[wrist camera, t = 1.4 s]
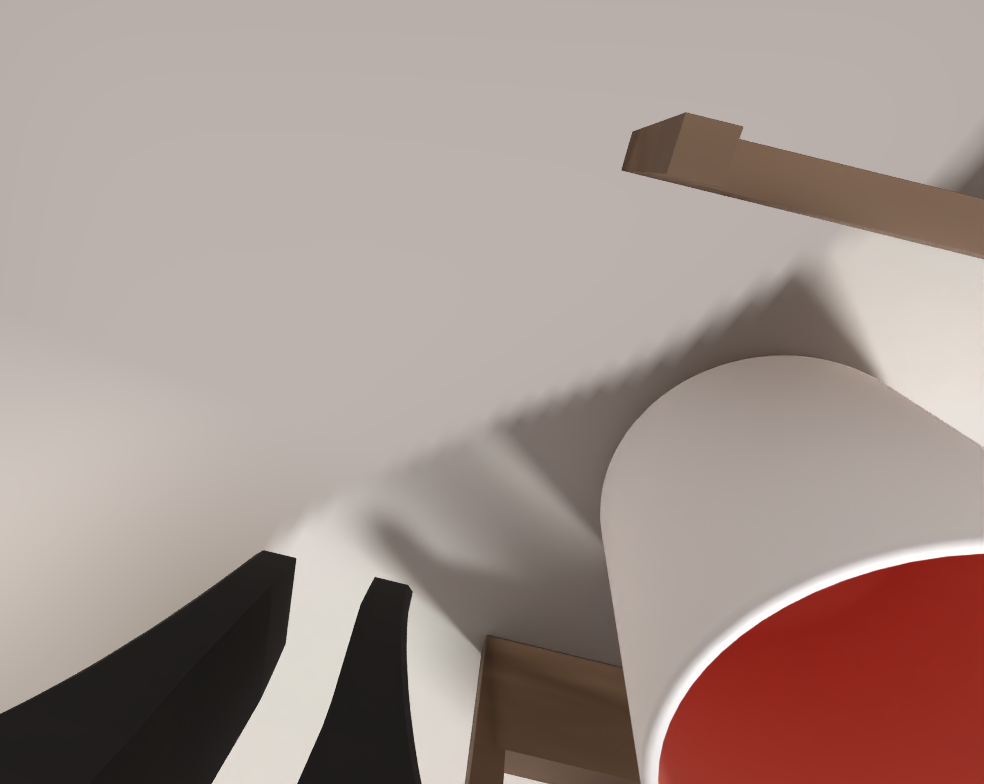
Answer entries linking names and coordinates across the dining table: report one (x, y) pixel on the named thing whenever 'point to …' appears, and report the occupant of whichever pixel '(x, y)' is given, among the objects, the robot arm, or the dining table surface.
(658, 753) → the cup
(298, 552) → the dining table surface
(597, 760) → the wooden pieces
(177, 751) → the robot arm
